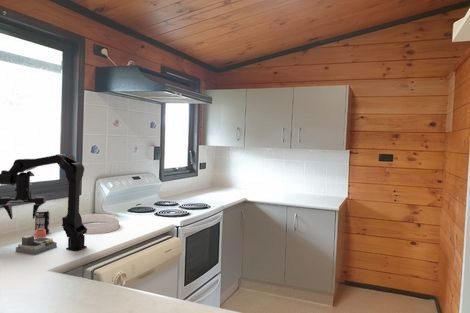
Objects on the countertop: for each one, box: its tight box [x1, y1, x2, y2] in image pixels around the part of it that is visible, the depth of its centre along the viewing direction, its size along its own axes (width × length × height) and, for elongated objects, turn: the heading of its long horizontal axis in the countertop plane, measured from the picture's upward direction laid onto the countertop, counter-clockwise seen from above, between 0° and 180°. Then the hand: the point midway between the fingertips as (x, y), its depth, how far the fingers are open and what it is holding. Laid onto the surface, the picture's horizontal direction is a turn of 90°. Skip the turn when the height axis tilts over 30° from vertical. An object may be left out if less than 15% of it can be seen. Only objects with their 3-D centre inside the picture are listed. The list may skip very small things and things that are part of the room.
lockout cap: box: [34, 228, 47, 239], centre depth 176 cm, size 5×5×6 cm
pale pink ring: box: [80, 213, 120, 235], centre depth 206 cm, size 27×27×6 cm
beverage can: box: [34, 209, 50, 234], centre depth 190 cm, size 7×7×12 cm
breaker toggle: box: [21, 234, 35, 246], centre depth 162 cm, size 3×4×4 cm
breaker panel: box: [15, 237, 58, 256], centre depth 164 cm, size 10×13×4 cm
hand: (22, 218), depth 169 cm, fingers open, 9 cm apart
